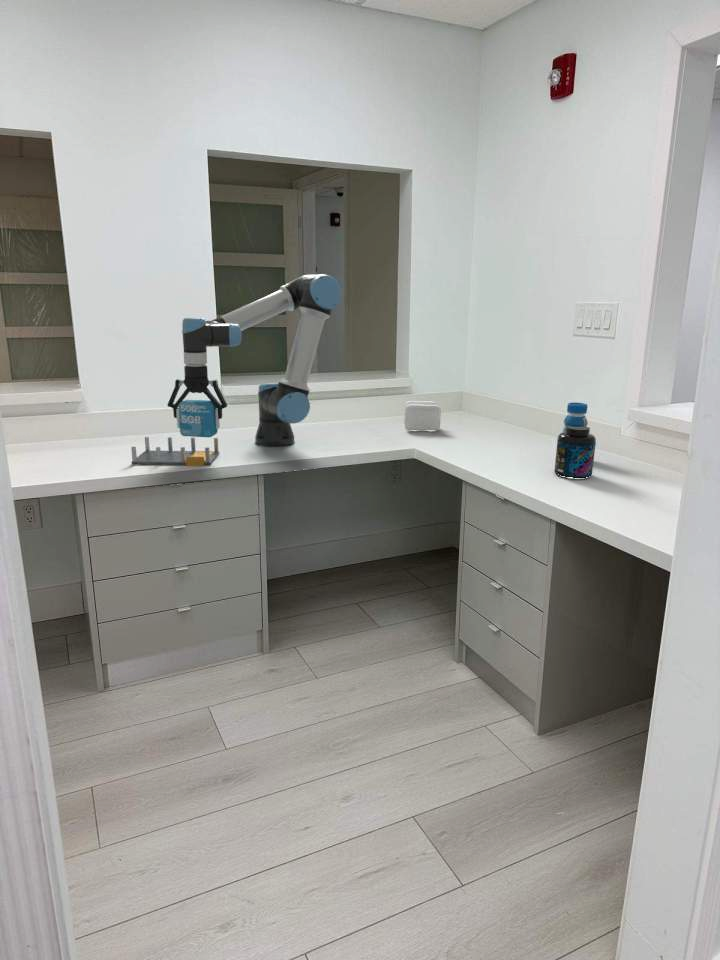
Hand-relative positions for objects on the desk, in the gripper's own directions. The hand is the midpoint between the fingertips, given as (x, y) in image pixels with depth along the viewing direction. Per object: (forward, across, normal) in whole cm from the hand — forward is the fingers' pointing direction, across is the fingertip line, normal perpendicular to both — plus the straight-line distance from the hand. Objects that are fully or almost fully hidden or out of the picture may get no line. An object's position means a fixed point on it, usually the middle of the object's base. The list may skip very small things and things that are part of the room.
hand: (198, 427), depth 230 cm
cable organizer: (+11, -83, -55) cm, 100 cm away
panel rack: (+11, +8, 0) cm, 14 cm away
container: (+11, -126, +15) cm, 127 cm away
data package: (+3, 0, 0) cm, 3 cm away
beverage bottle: (+11, -133, -8) cm, 134 cm away
